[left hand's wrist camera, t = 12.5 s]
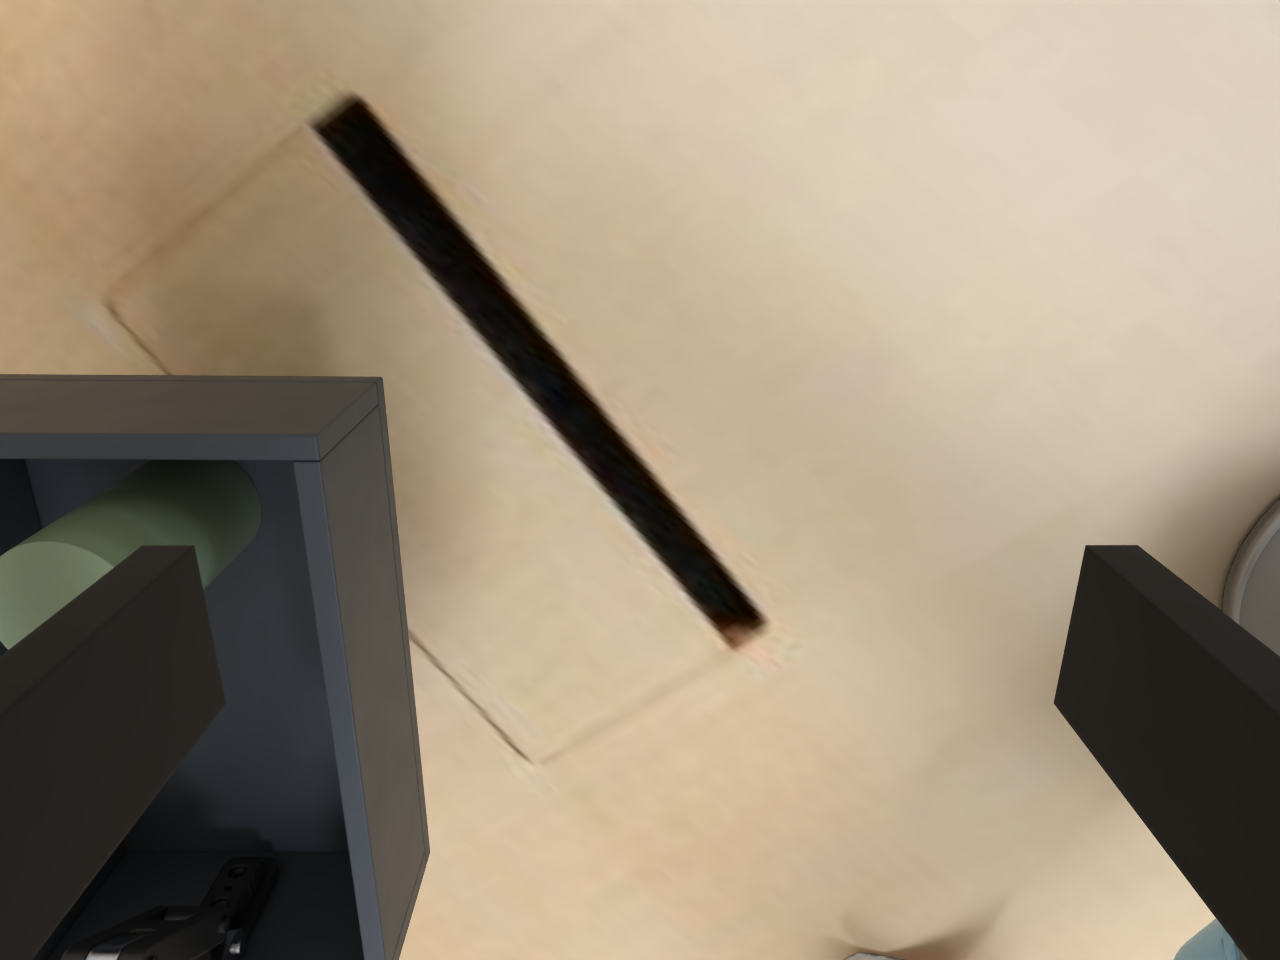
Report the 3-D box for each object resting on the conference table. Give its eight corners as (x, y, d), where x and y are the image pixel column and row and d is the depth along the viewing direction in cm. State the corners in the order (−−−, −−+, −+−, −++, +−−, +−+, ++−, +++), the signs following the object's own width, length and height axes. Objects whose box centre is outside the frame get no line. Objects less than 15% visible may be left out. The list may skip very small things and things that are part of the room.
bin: (383, 376, 30) (316, 435, 24) (430, 852, 38) (389, 991, 32) (-3, 373, 30) (-173, 431, 24) (122, 851, 38) (19, 991, 32)
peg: (252, 446, 30) (127, 541, 23) (270, 558, 32) (158, 681, 25) (127, 446, 30) (-38, 541, 23) (152, 558, 32) (4, 681, 25)
